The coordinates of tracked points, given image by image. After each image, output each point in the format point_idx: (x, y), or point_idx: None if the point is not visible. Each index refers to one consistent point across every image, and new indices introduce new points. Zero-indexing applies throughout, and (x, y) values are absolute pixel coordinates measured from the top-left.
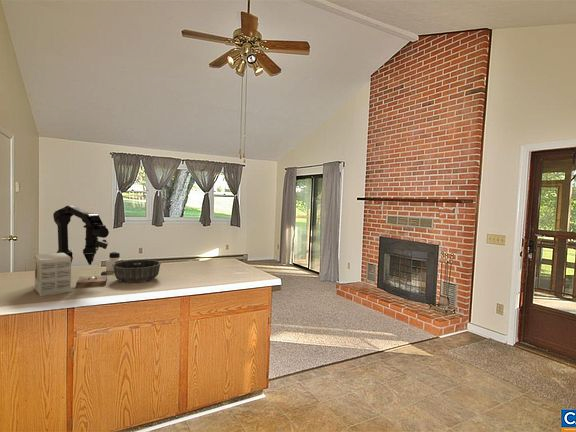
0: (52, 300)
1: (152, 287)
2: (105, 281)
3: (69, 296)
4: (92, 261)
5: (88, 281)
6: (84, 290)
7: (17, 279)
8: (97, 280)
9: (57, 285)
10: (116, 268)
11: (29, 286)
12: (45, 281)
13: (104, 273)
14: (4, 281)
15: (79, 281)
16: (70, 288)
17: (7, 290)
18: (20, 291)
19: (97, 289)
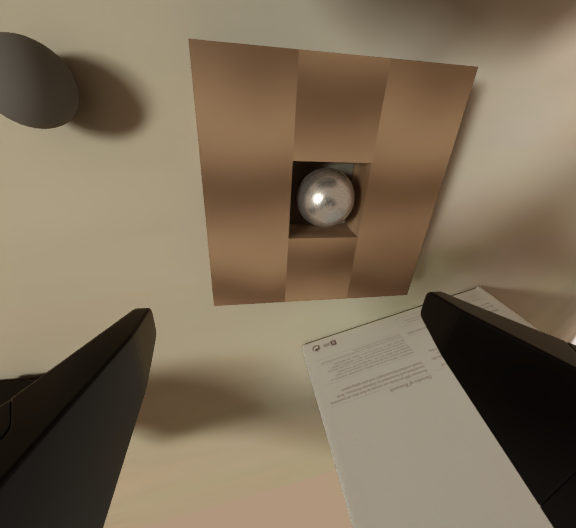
0: (564, 322)
1: None
2: (474, 69)
3: (556, 275)
4: (151, 311)
5: (411, 223)
6: (493, 222)
7: (123, 510)
8: (415, 153)
9: None
10: None
11: (277, 443)
12: None
13: (56, 77)
14: (158, 522)
15: (380, 282)
16: (494, 298)
17: (317, 471)
18: None
19: (525, 141)
